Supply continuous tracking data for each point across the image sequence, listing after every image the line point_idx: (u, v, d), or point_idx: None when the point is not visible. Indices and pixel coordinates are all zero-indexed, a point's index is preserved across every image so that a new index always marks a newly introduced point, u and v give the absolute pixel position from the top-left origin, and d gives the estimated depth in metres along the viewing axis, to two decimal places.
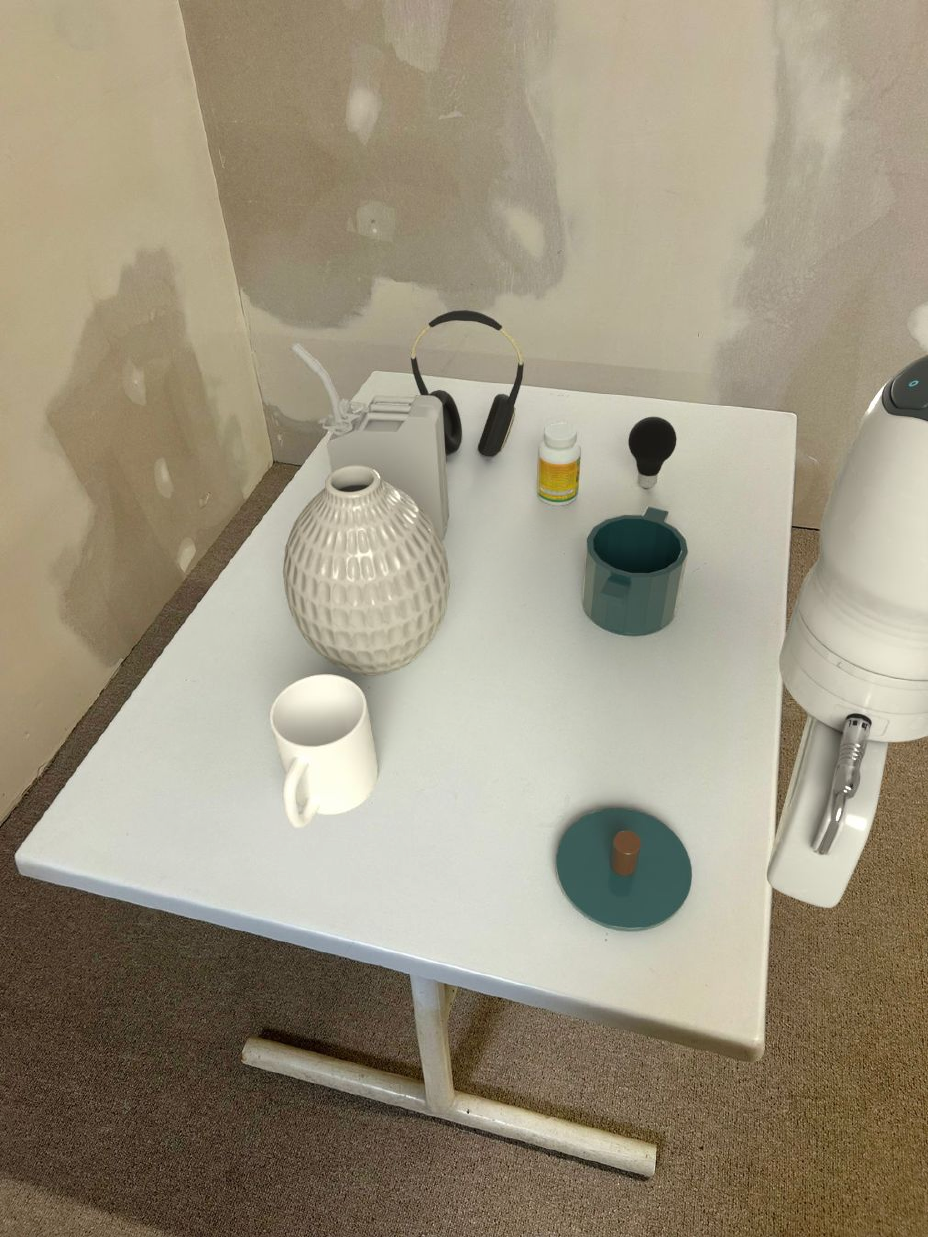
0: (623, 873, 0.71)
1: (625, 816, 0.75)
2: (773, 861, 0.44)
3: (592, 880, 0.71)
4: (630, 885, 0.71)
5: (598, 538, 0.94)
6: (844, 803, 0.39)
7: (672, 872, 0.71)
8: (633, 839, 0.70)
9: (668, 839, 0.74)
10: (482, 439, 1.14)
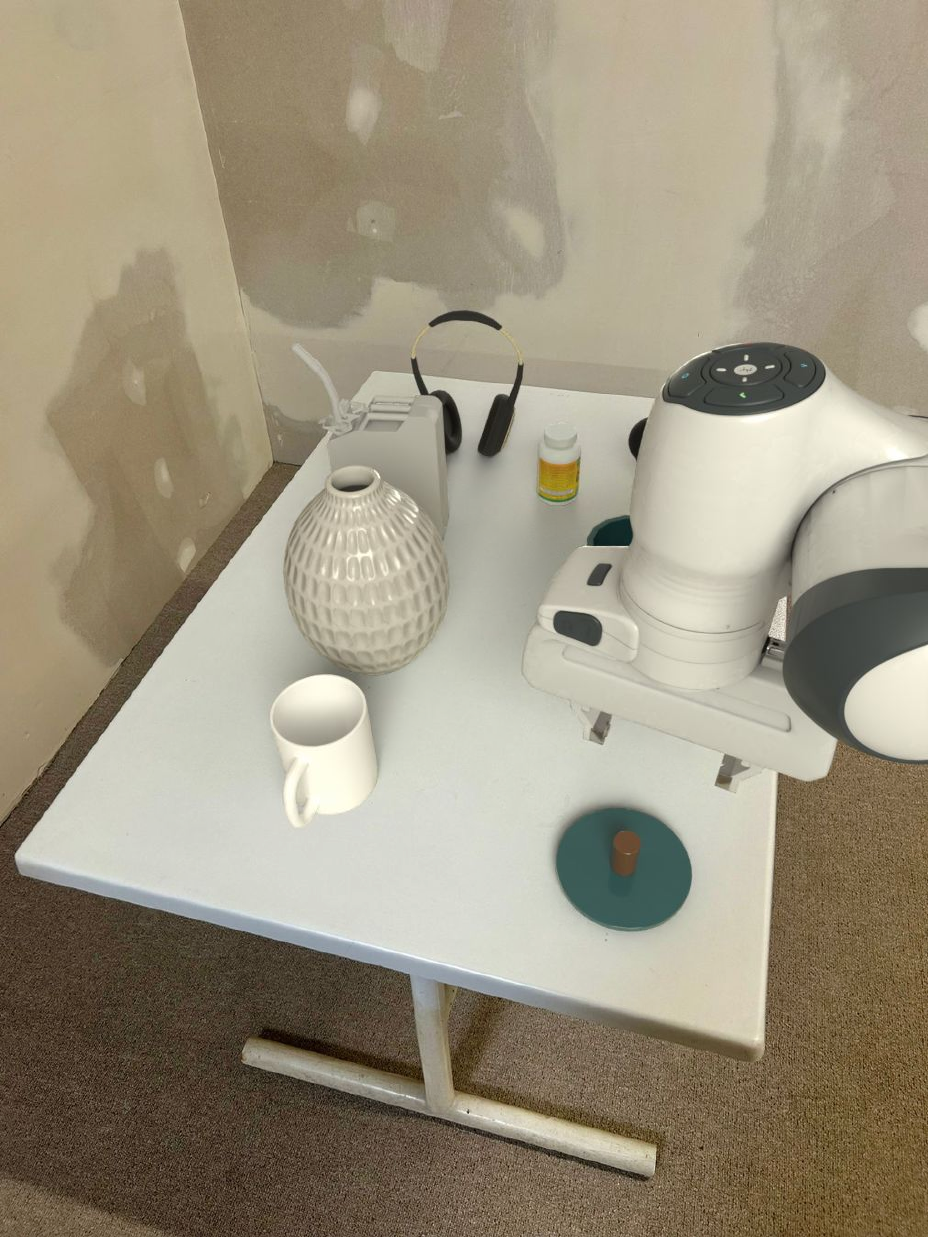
0: (623, 873, 0.71)
1: (625, 816, 0.75)
2: (826, 761, 0.51)
3: (592, 880, 0.71)
4: (630, 885, 0.71)
5: (598, 538, 0.94)
6: None
7: (672, 872, 0.71)
8: (633, 839, 0.70)
9: (668, 839, 0.74)
10: (482, 439, 1.14)
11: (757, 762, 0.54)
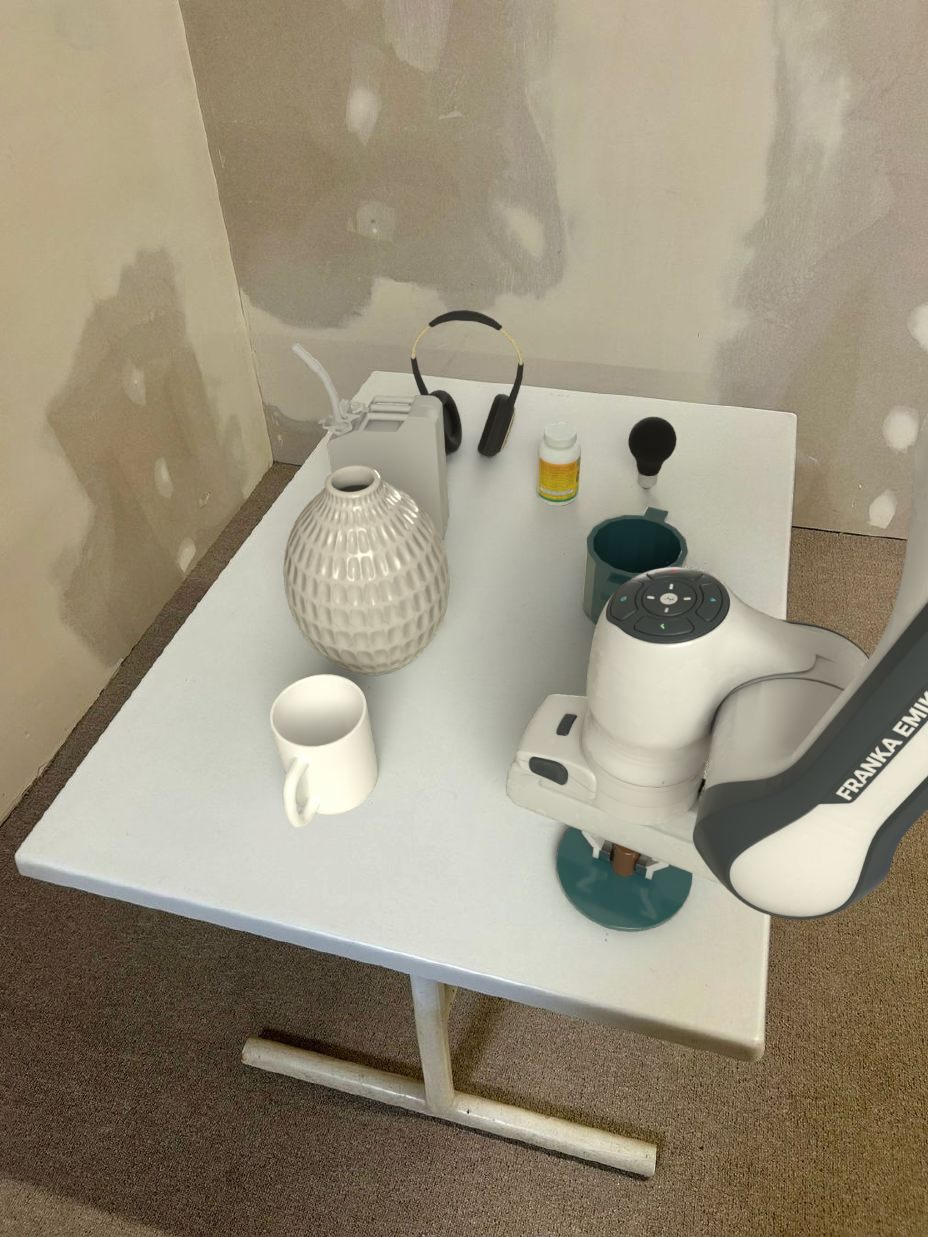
0: (623, 873, 0.71)
1: None
2: None
3: (592, 880, 0.71)
4: (631, 886, 0.71)
5: (598, 538, 0.94)
6: None
7: (672, 872, 0.71)
8: None
9: None
10: (482, 439, 1.14)
11: (700, 874, 0.65)
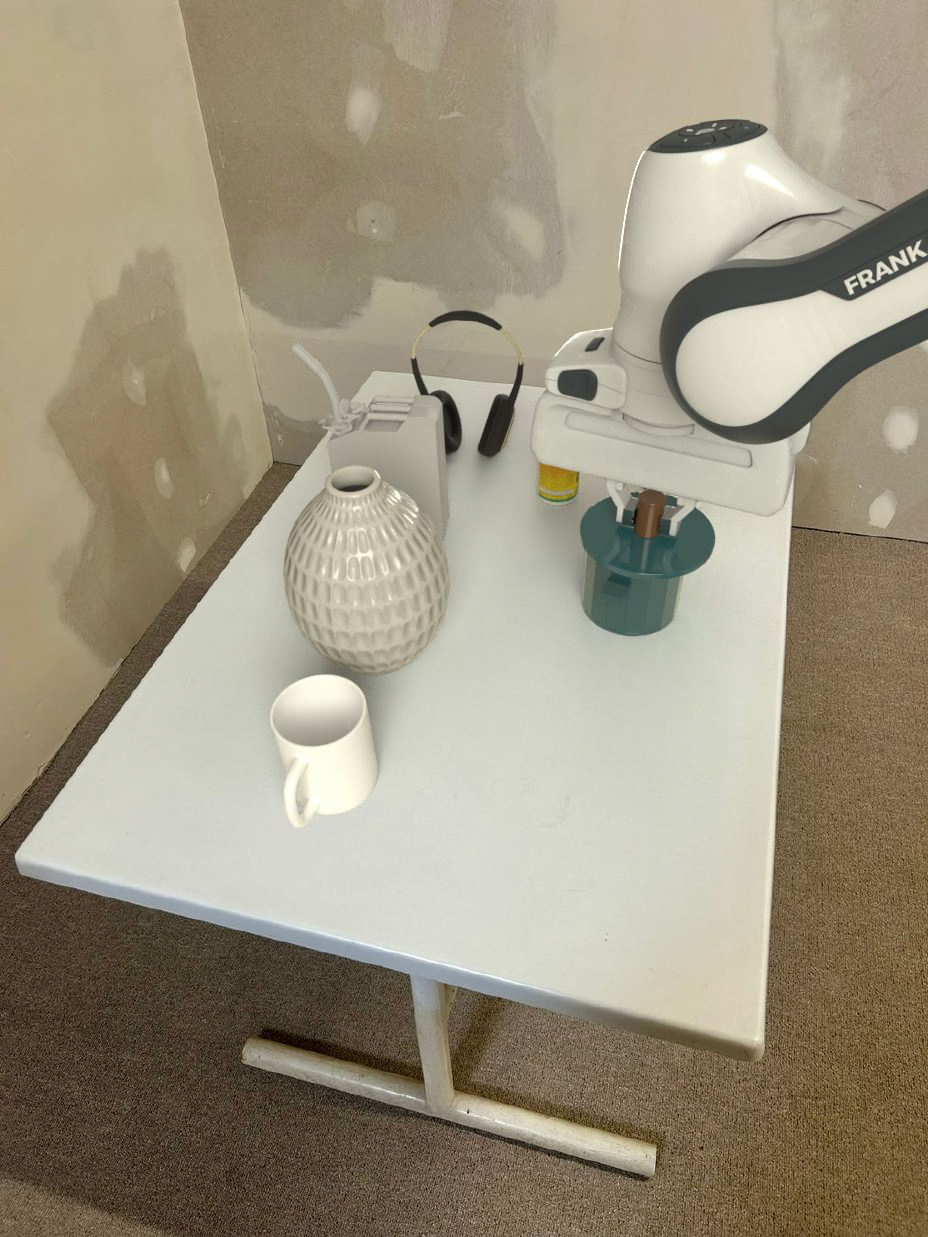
0: (647, 534, 0.71)
1: None
2: (781, 491, 0.63)
3: (616, 541, 0.71)
4: (654, 545, 0.71)
5: None
6: None
7: (695, 535, 0.72)
8: (658, 494, 0.70)
9: (690, 512, 0.74)
10: (482, 439, 1.14)
11: (726, 503, 0.65)
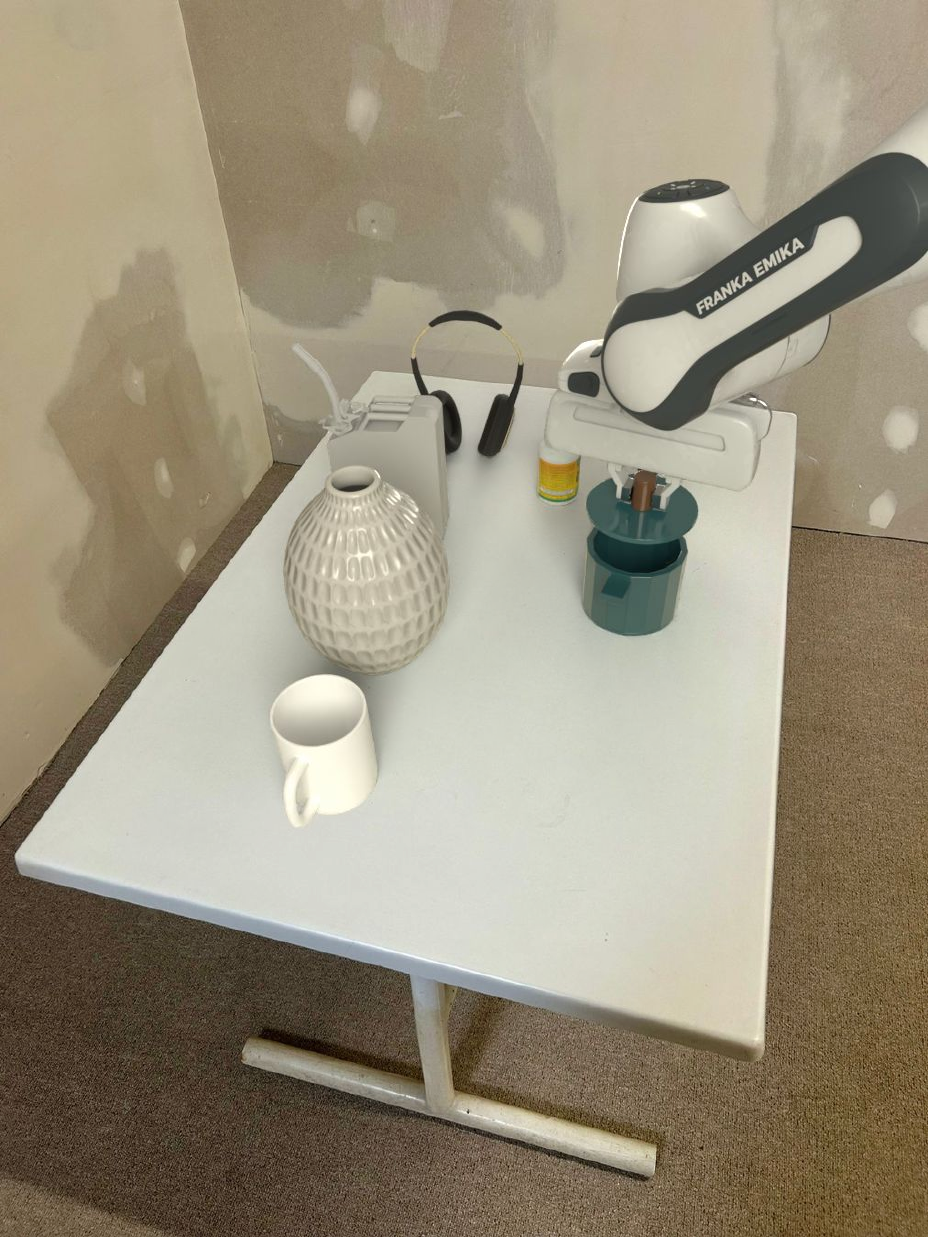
0: (641, 507, 0.86)
1: None
2: (748, 470, 0.77)
3: (616, 514, 0.86)
4: (647, 516, 0.86)
5: (598, 538, 0.94)
6: None
7: (682, 508, 0.86)
8: (650, 474, 0.85)
9: (678, 490, 0.89)
10: (482, 439, 1.14)
11: (705, 481, 0.80)
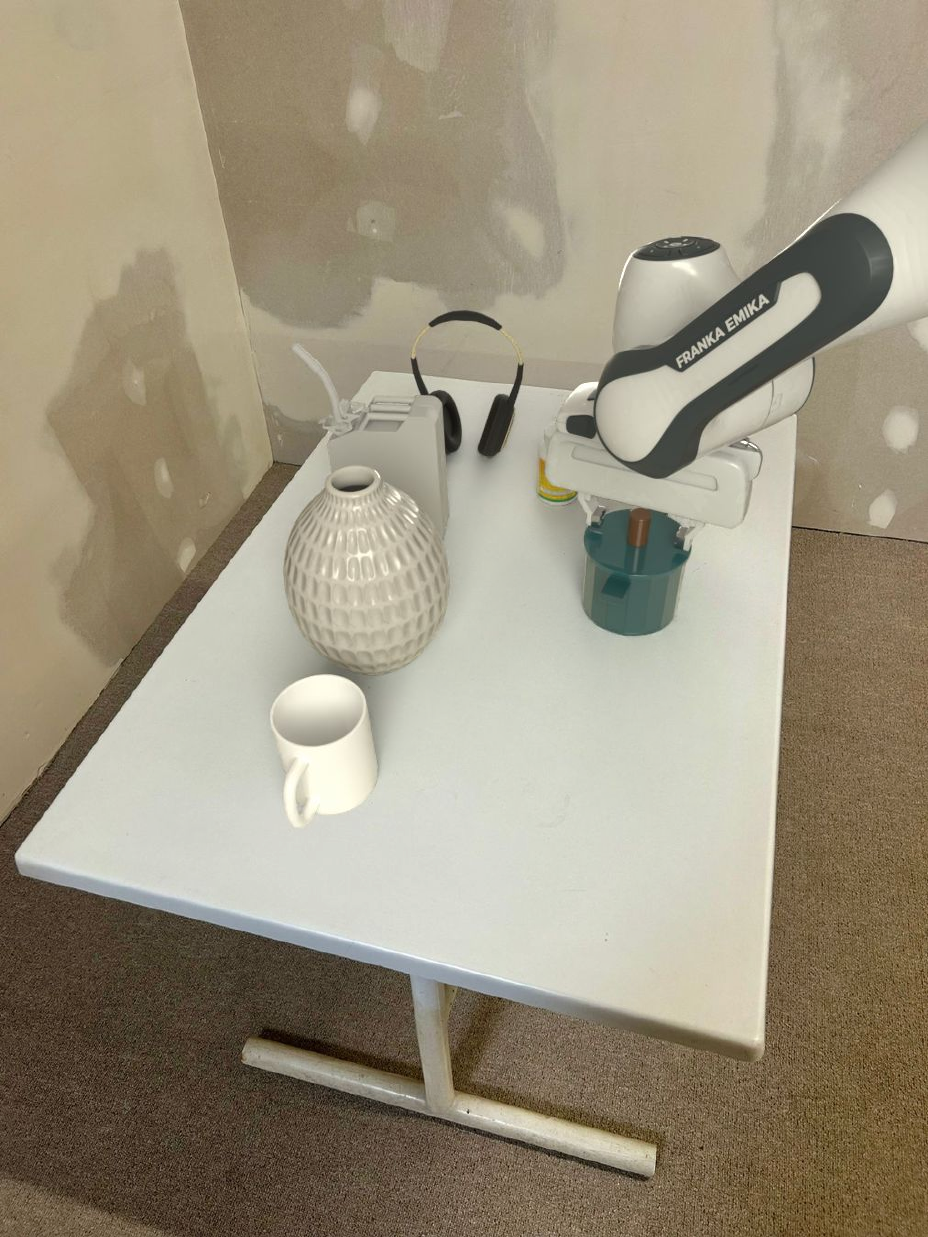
0: (637, 543, 0.89)
1: None
2: (740, 509, 0.80)
3: (612, 549, 0.89)
4: (643, 552, 0.89)
5: None
6: None
7: None
8: (645, 512, 0.88)
9: (673, 525, 0.92)
10: (482, 439, 1.14)
11: (698, 518, 0.83)
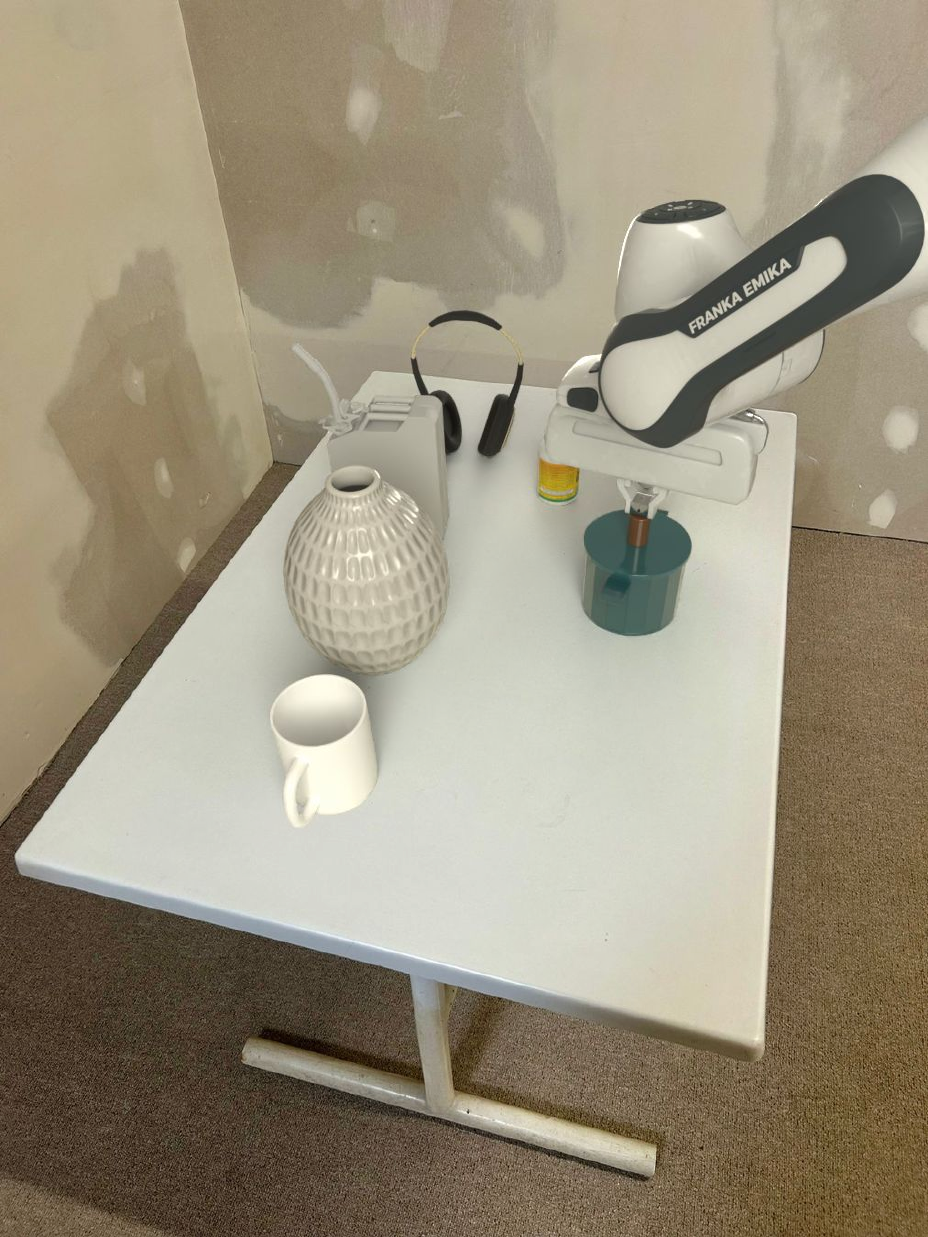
0: (637, 543, 0.89)
1: None
2: (745, 484, 0.78)
3: (612, 549, 0.89)
4: (643, 552, 0.89)
5: None
6: (760, 416, 0.76)
7: (676, 544, 0.90)
8: None
9: (673, 525, 0.92)
10: (482, 439, 1.14)
11: (702, 494, 0.81)
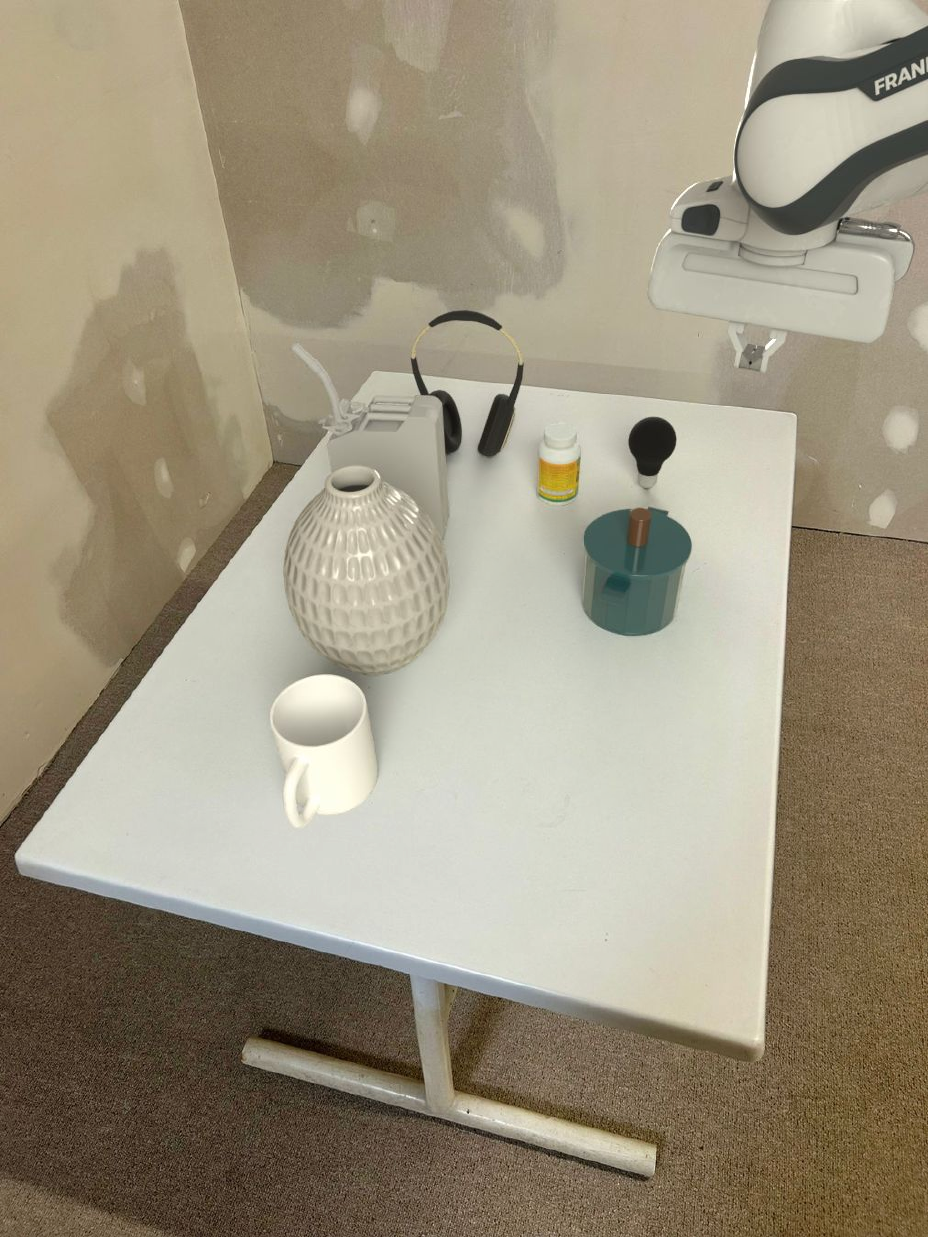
0: (637, 543, 0.89)
1: None
2: (883, 315, 0.70)
3: (612, 549, 0.89)
4: (643, 552, 0.89)
5: None
6: None
7: (676, 544, 0.90)
8: (645, 512, 0.88)
9: (673, 525, 0.92)
10: (482, 439, 1.14)
11: (830, 333, 0.72)
